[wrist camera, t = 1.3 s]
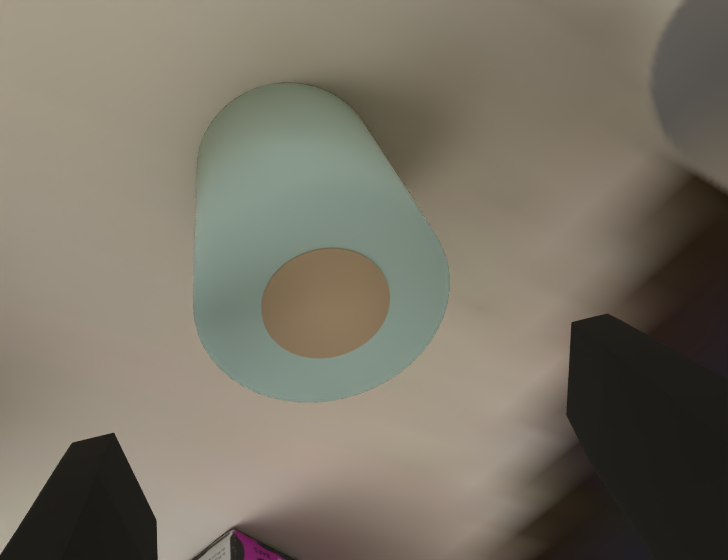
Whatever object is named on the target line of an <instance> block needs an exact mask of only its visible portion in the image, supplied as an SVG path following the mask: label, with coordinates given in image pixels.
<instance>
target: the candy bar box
mask: <svg viewBox="0 0 728 560" xmlns="http://www.w3.org/2000/svg"><path fill="white" fill-rule="evenodd" d="M194 560H293V559H291V558H289V557H287V556H285V555H283V554H281V553H279V552H277V551H275V550H273V549H271V548H269V547H267V546H265V545H264V544H262V543H260V542H258V541H256V540H254V539H252V538H250V537H248V536H246V535H244V534H242V533H240V532H238V531H236V530H233V529H232V530H231V531H229V532H228V533H226V534H224V535H223V536H222V537H221V538H219V539H217V540H216V541H215V542H214V543H212V544H211V545H210V546H209V547H208V548H207V549H206V550H205V551H204V552H203V553H201V554H200V555H199V556H198V557H197V558H195V559H194Z"/></svg>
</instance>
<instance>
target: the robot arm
mask: <svg viewBox="0 0 728 560" xmlns="http://www.w3.org/2000/svg"><path fill="white" fill-rule="evenodd" d="M566 415H567V417H568V419H569V421H570V423H571V425H572V427H573V429H574V431H575V433H576V435H577V437H578V439H579V441H580V443H581V445H582V447H583V449H584V451H585V453H586V455H587V456H588V458H589V460H590V462H591V464H592V466H593V468H594V470H595V471H596V473H597V474H598V476H599V477H600V479H601V480H602V482H603V483H604V485H605V486H606V488H607V489H608V491H609V492H610V494H611V495H612V497H613V498H614V499H615V501H616V502H617V504H618V505H619V507H620V508H621V510H622V511H623V513H624V514H625V516H626V517H627V519H628V520H629V521H630V523H631V524H632V526H633V527H634V529H635V530H636V532H637V533H638V535H639V536H640V537H641V539H642V540H643V542H644V543H645V545H646V546H647V548H648V549H649V550H650V552H651V553H652V555H653V556H654V558H655V559H656V560H728V379H727V378H725V377H723V376H721V375H719V374H718V373H716V372H714V371H712V370H710V369H708V368H706V367H705V366H703V365H701V364H699V363H697V362H695V361H694V360H692V359H690V358H688V357H686V356H684V355H683V354H681V353H679V352H677V351H675V350H674V349H672V348H670V347H668V346H666V345H665V344H663V343H661V342H659V341H657V340H656V339H654V338H652V337H650V336H648V335H647V334H645V333H643V332H641V331H639V330H638V329H636V328H634V327H632V326H630V325H628V324H627V323H625V322H623V321H621V320H619V319H617V318H615V317H613V316H611V315H609V314H604V315H600V316H595V317H591V318H587V319H583V320H579V321H575V322H572V323H571V341H570V359H569V377H568V395H567V413H566ZM0 560H158V555H157V523H156V518H155V516H154V514H153V512H152V510H151V508H150V506H149V504H148V502H147V500H146V498H145V496H144V494H143V491H142V489H141V487H140V485H139V483H138V481H137V479H136V477H135V475H134V473H133V471H132V469H131V467H130V465H129V463H128V461H127V459H126V456H125V454H124V452H123V450H122V448H121V446H120V444H119V442H118V440H117V438H116V436H115V434H114V433H111V434H106V435H102V436H98V437H94V438H90V439H86V440H82V441H77V442H73V443H72V444H71V445H70V447H69V448H68V450H67V451H66V453H65V454H64V456H63V457H62V459H61V460H60V462H59V464H58V465H57V467H56V468H55V470H54V471H53V473H52V475H51V476H50V478H49V479H48V481H47V483H46V484H45V486H44V487H43V489H42V491H41V492H40V494H39V495H38V497H37V499H36V500H35V502H34V503H33V505H32V507H31V508H30V510H29V511H28V513H27V514H26V516H25V518H24V519H23V521H22V522H21V524H20V525H19V527H18V529H17V530H16V532H15V533H14V535H13V536H12V538H11V539H10V541H9V542H8V544H7V545H6V547H5V548H4V550H3V552H2V553H1V555H0Z"/></svg>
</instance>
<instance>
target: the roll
mask: <svg viewBox="0 0 728 560" xmlns="http://www.w3.org/2000/svg"><path fill="white" fill-rule="evenodd" d="M448 296H449V269H448V262H447V259H446V256H445V253H444V250H443V247H442V245H441V243H440V241H439V239H438V237H437V236H436V234H435V232H434V231H433V229H432V228H431V226H430V225H429V223H428V222H427V220H426V219H425V217H424V215H423V214H422V212H421V211H420V209H419V208H418V206H417V205H416V203H415V202H414V200H413V198H412V197H411V195H410V194H409V192H408V191H407V189H406V188H405V186H404V185H403V183H402V182H401V180H400V178H399V177H398V175H397V174H396V172H395V171H394V169H393V168H392V166H391V165H390V163H389V161H388V160H387V158H386V157H385V155H384V154H383V152H382V151H381V149H380V148H379V146H378V144H377V143H376V141H375V140H374V138H373V137H372V135H371V134H370V132H369V131H368V129H367V127H366V126H365V124H364V123H363V122H362V120H361V119H360V117H359V116H358V115H357V113H356V112H355V111H354V110H353V109H352V108H351V107H350V106H349V105H348V104H346V103H345V102H344V101H343V100H341V99H340V98H338V97H337V96H335V95H333V94H332V93H330V92H327V91H325V90H323V89H320V88H317V87H314V86H310V85H306V84H299V83H278V84H270V85H266V86H262V87H258V88H256V89H253V90H251V91H249V92H246V93H244V94H243V95H241V96H239V97H237V98H236V99H234V100H233V101H232V102H230V103H229V104H228V105H227V106H225V107H224V108H223V109H222V110H221V111H220V112H219V114H218V115H217V116H216V117H215V118H214V120H213V121H212V122H211V124H210V125H209V127H208V129H207V131H206V133H205V135H204V137H203V140H202V142H201V145H200V149H199V153H198V159H197V179H196V217H195V254H194V291H193V309H194V320H195V324H196V328H197V332H198V335H199V337H200V339H201V342H202V344H203V346H204V348H205V349H206V351H207V353H208V354H209V356H210V357H211V359H212V360H213V361H214V362H215V363H216V365H217V366H218V367H219V368H220V369H221V370H222V371H223V372H224V373H226V374H227V375H228V376H229V377H230V378H231V379H233V380H234V381H236V382H238V383H239V384H241V385H242V386H244V387H246V388H248V389H250V390H252V391H254V392H256V393H259V394H262V395H265V396H268V397H271V398H275V399H280V400H284V401H293V402H324V401H332V400H338V399H343V398H347V397H350V396H354V395H357V394H360V393H363V392H365V391H368V390H370V389H373V388H375V387H377V386H379V385H380V384H382V383H384V382H386V381H388V380H389V379H391V378H392V377H394V376H395V375H397V374H398V373H400V372H401V371H402V370H404V369H405V368H406V367H407V366H408V365H410V364H411V363H412V362H413V361H414V360H415V359H416V358H417V357H418V356H419V355H420V354H421V353H422V351H423V350H424V349H425V348H426V346H427V345H428V344H429V343H430V341H431V339H432V338H433V336H434V335H435V333H436V331H437V330H438V327H439V325H440V323H441V321H442V319H443V316H444V313H445V310H446V306H447V302H448Z"/></svg>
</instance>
